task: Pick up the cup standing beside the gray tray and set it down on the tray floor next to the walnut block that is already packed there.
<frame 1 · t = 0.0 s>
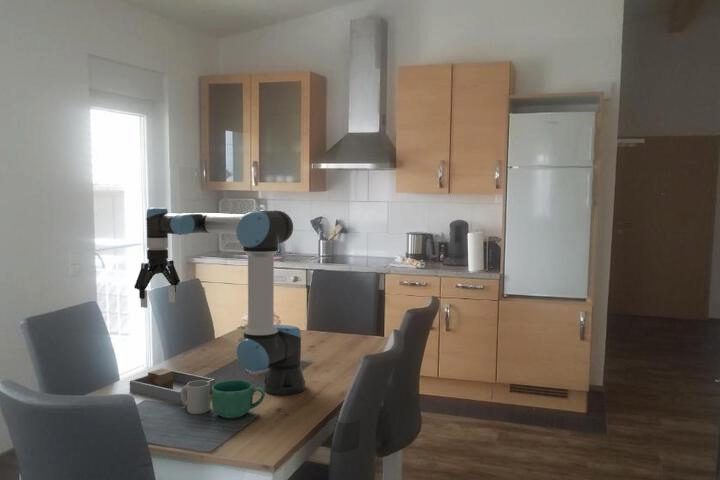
hand: (158, 304, 235), 28 cm above the table, fingers open, 13 cm apart
walnut block: (160, 388, 222), point 1 cm above the table, touching gray tray
mug: (238, 415, 198), on the table
gray tray: (172, 392, 219), on the table
cup: (194, 410, 202), on the table
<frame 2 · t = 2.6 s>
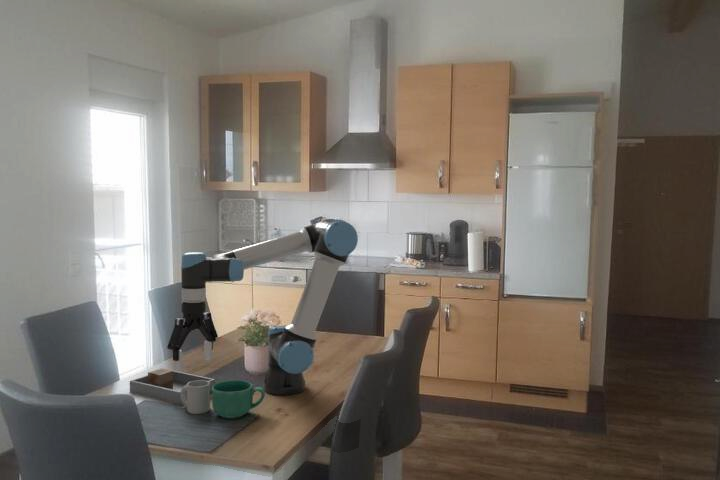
hand: (193, 365, 201), 15 cm above the table, fingers open, 13 cm apart
nothing on the table moved.
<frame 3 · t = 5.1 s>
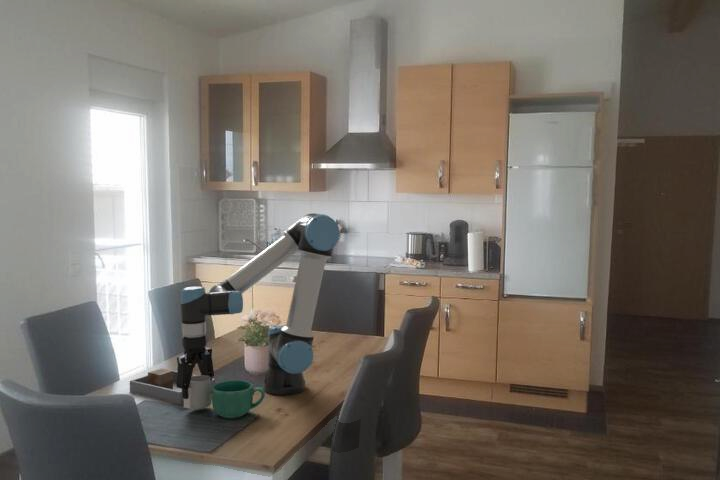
hand: (196, 403, 202), 2 cm above the table, fingers closed on cup, 7 cm apart
cup: (196, 405, 202), point 1 cm above the table, touching gripper
everything else where it was.
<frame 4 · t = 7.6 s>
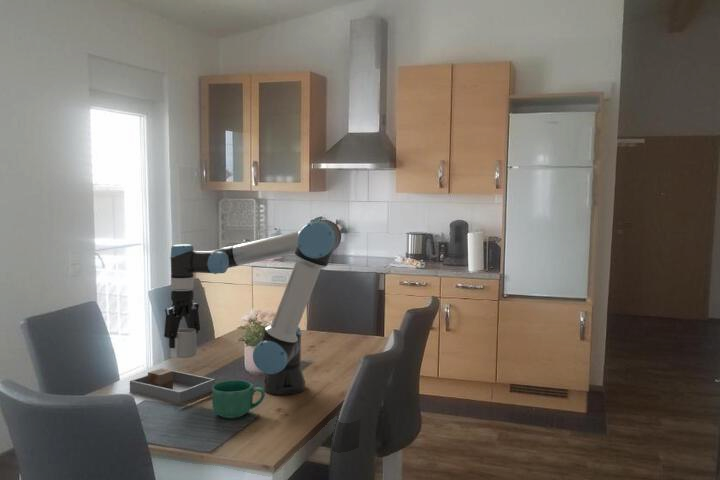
hand: (182, 354, 216), 14 cm above the table, fingers closed on cup, 7 cm apart
cup: (181, 355, 215), point 14 cm above the table, touching gripper
everything else where it was.
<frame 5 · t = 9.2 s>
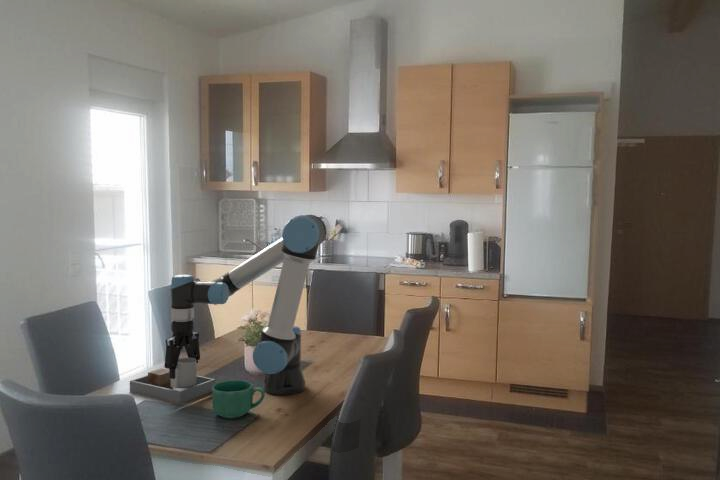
hand: (182, 384, 217), 4 cm above the table, fingers closed on cup, 7 cm apart
cup: (182, 385, 216), point 3 cm above the table, touching gripper
everything else where it was.
when the fingers open (3 cm above the table, at t = 10.2 s): cup drops 2 cm, resting on gray tray.
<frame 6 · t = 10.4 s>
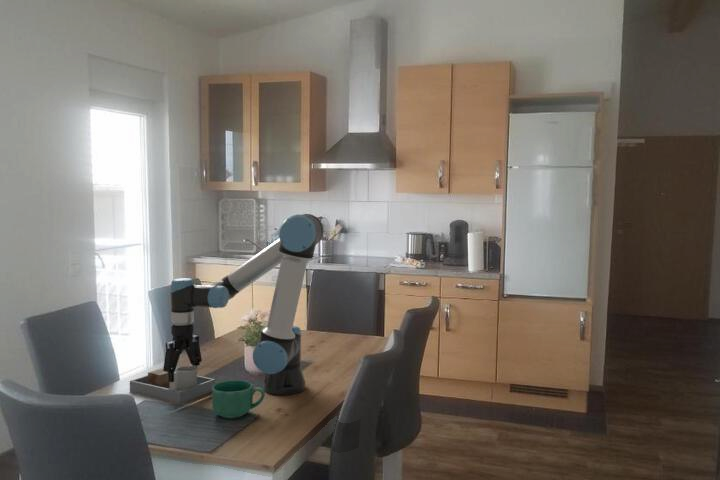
hand: (183, 386, 217), 3 cm above the table, fingers open, 9 cm apart
cup: (182, 394, 217), resting on gray tray
everything else where it was.
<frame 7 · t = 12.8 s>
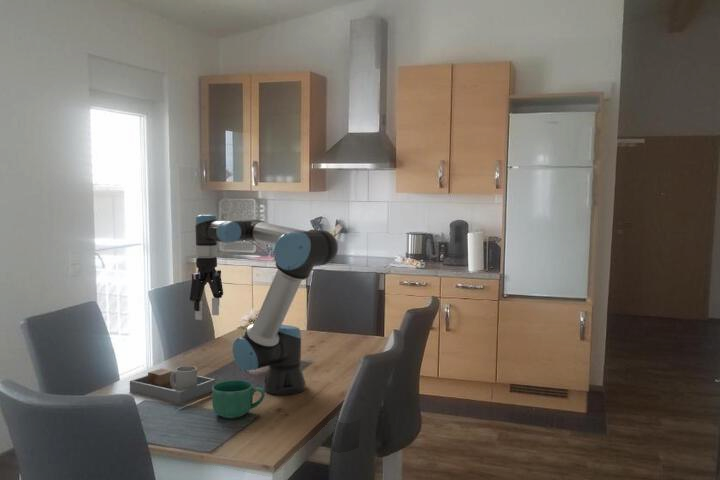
hand: (207, 317, 230), 25 cm above the table, fingers open, 9 cm apart
nothing on the table moved.
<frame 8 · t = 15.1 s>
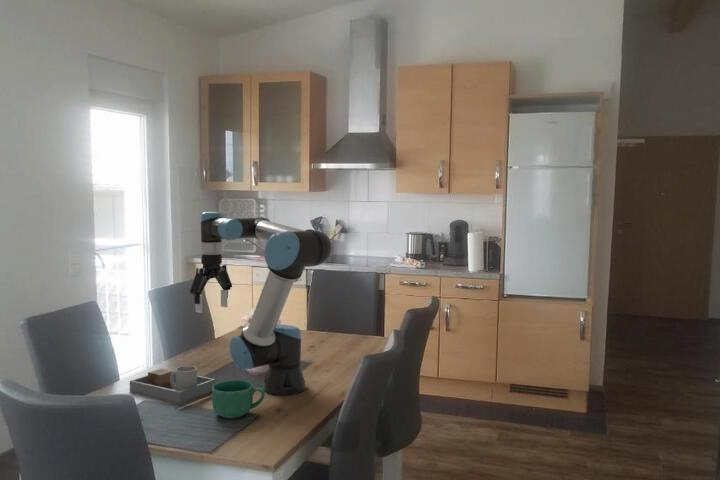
hand: (211, 309, 233), 27 cm above the table, fingers open, 13 cm apart
nothing on the table moved.
at the end: cup inside the target area on the gray tray (0.7 cm from its centre), point 0.4 cm above the gray tray's base; cup tilted 0°; the gripper is holding nothing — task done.
